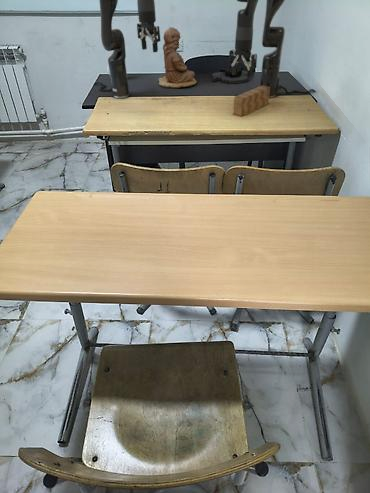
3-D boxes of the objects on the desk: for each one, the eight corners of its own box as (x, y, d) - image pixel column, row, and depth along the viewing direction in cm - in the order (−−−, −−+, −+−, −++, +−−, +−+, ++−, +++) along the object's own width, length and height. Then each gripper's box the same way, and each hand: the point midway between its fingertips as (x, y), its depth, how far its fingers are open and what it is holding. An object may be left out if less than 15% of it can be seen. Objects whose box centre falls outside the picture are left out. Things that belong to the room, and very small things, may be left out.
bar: (260, 101, 193) (262, 85, 187) (268, 103, 190) (270, 87, 185) (233, 114, 180) (234, 96, 174) (241, 116, 177) (242, 98, 172)
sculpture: (197, 88, 213) (196, 30, 194) (156, 89, 214) (152, 31, 194) (196, 75, 234) (196, 22, 215) (159, 76, 235) (156, 23, 215)
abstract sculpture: (216, 68, 212) (209, 60, 227) (216, 84, 218) (208, 75, 233) (257, 65, 215) (247, 57, 230) (255, 81, 221) (245, 73, 236)
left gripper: (163, 9, 154) (165, 51, 164) (143, 7, 162) (147, 47, 173) (149, 11, 150) (152, 54, 161) (130, 9, 159) (134, 49, 169)
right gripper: (226, 37, 159) (224, 75, 170) (252, 41, 152) (248, 81, 162) (236, 34, 163) (234, 72, 174) (262, 38, 156) (258, 77, 166)
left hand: (149, 50), depth 167 cm, fingers open, 8 cm apart
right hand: (241, 76), depth 168 cm, fingers open, 8 cm apart
